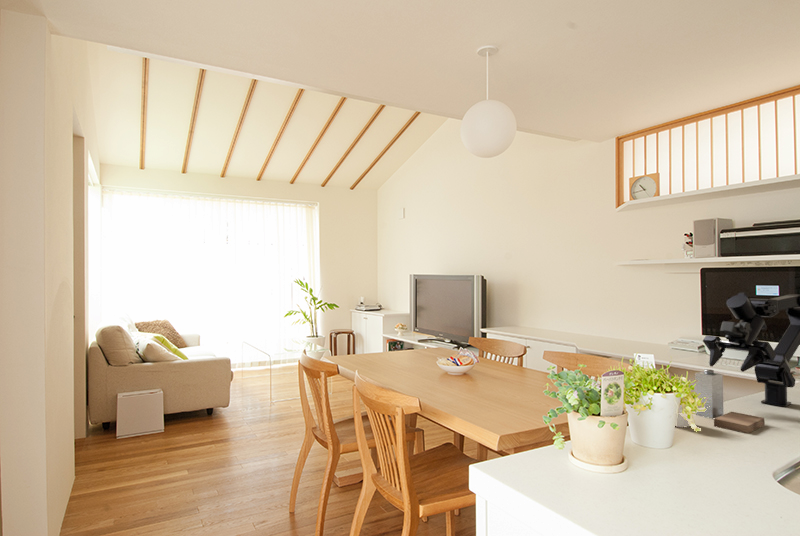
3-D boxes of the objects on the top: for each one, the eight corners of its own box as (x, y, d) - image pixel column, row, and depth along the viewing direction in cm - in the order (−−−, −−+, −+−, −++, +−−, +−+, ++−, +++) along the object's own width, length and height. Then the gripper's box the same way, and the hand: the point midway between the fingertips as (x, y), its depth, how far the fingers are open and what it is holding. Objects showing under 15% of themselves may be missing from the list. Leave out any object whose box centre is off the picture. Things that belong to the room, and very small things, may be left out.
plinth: (731, 418, 140) (731, 411, 140) (764, 425, 134) (764, 417, 134) (714, 426, 133) (713, 418, 133) (748, 433, 127) (747, 425, 127)
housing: (706, 412, 147) (706, 368, 147) (723, 417, 142) (722, 370, 142) (695, 414, 145) (695, 369, 145) (712, 419, 140) (711, 372, 140)
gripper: (706, 310, 158) (683, 346, 153) (769, 314, 141) (746, 354, 136) (721, 333, 161) (700, 369, 156) (785, 340, 144) (763, 380, 139)
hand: (725, 368), depth 147 cm, fingers open, 9 cm apart
